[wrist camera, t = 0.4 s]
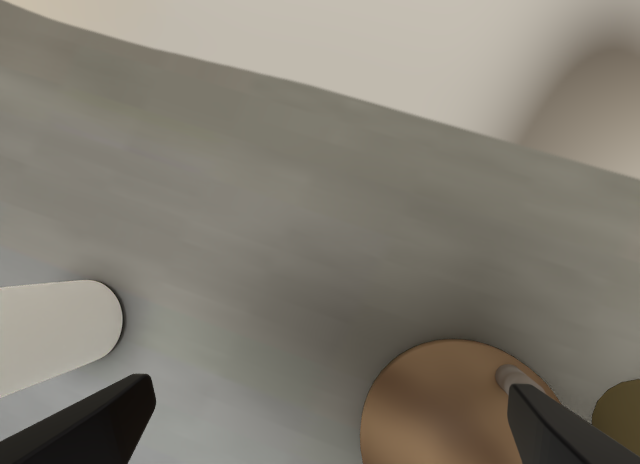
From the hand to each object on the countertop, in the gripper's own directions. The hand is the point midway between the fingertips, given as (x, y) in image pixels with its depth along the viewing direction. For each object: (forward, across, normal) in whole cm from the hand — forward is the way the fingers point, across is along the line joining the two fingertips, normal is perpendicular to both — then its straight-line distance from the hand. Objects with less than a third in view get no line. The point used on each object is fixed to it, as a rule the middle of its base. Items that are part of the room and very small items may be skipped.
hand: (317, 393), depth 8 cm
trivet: (+12, -7, +14) cm, 19 cm away
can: (+15, +21, +6) cm, 27 cm away
